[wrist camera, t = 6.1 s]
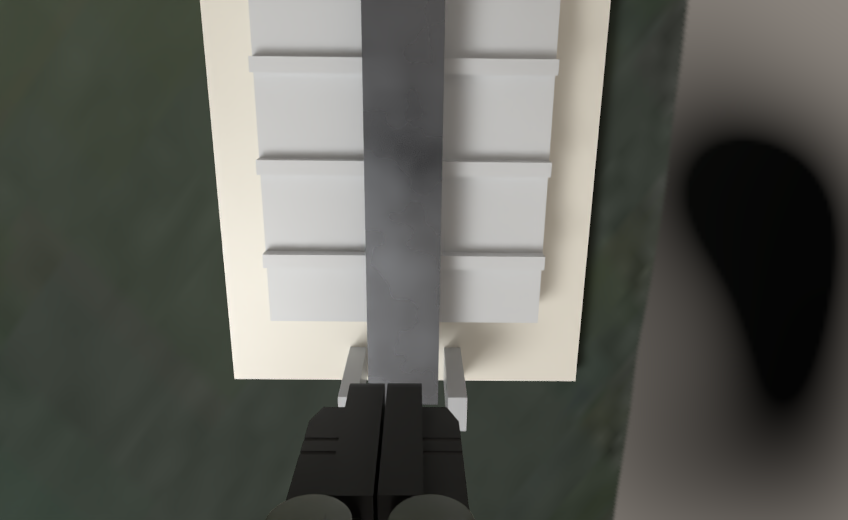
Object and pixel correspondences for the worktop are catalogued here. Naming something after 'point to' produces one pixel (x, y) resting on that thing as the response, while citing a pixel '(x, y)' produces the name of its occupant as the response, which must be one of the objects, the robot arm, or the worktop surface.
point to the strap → (403, 188)
